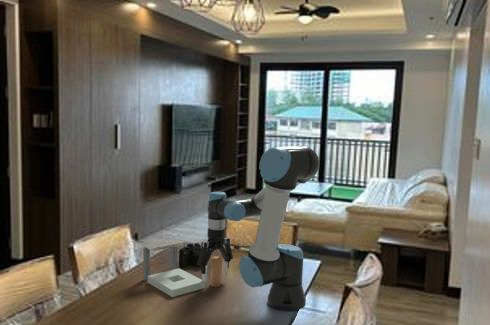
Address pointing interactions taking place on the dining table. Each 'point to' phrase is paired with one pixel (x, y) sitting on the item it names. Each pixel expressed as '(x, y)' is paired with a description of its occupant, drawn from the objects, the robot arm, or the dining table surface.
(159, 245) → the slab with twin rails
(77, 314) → the dining table surface
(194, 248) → the camera
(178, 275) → the socket board
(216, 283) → the peg
